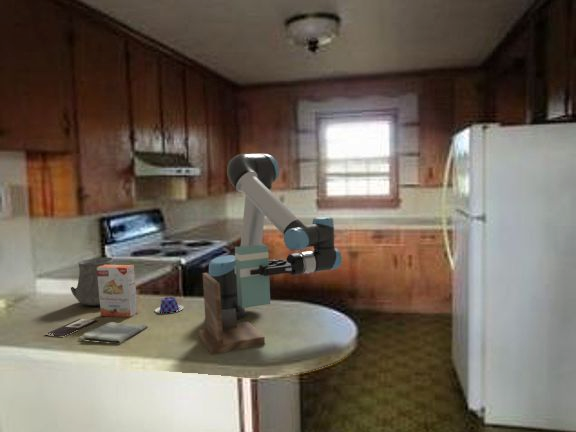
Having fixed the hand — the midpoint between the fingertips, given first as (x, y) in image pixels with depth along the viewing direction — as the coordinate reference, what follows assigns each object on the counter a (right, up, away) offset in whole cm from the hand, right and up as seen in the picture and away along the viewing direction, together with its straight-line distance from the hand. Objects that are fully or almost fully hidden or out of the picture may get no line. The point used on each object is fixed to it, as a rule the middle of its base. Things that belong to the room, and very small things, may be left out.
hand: (237, 271), depth 157 cm
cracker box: (-53, -23, +38) cm, 69 cm away
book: (+5, -11, +3) cm, 13 cm away
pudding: (-34, -22, +43) cm, 58 cm away
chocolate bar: (-66, -25, +24) cm, 75 cm away
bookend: (-6, -21, +8) cm, 23 cm away
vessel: (-69, -21, +57) cm, 92 cm away
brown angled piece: (-3, -24, +4) cm, 24 cm away
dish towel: (-47, -25, +15) cm, 56 cm away
